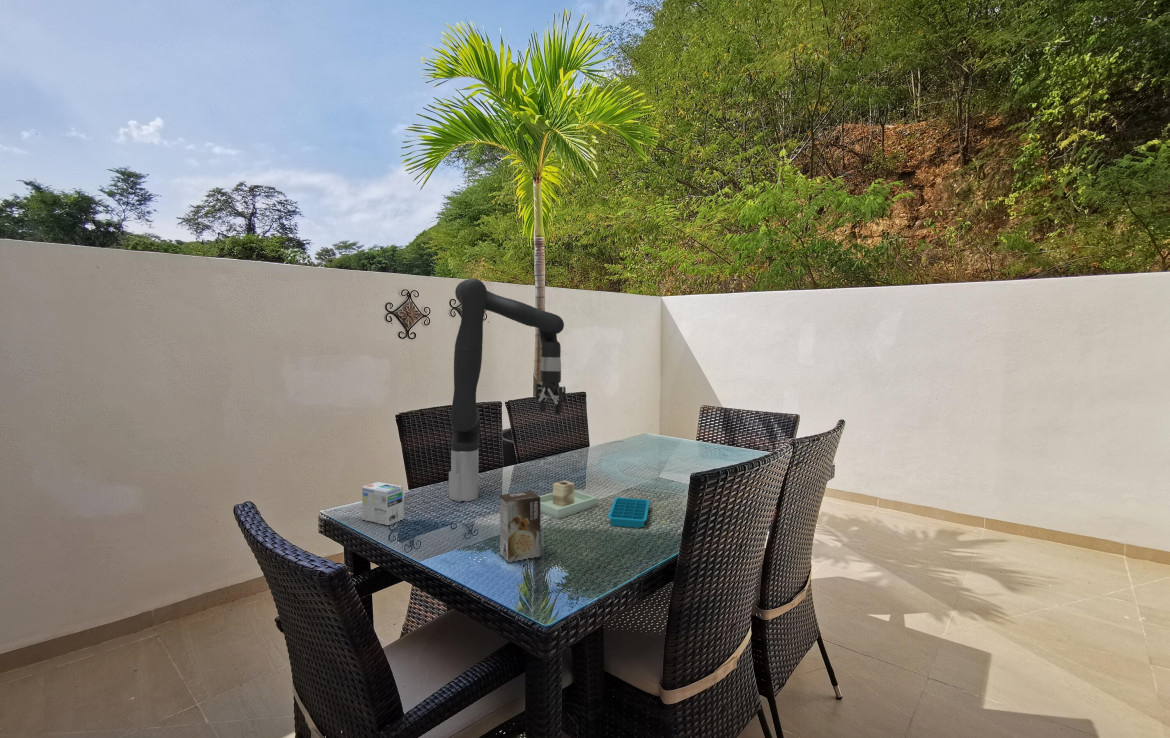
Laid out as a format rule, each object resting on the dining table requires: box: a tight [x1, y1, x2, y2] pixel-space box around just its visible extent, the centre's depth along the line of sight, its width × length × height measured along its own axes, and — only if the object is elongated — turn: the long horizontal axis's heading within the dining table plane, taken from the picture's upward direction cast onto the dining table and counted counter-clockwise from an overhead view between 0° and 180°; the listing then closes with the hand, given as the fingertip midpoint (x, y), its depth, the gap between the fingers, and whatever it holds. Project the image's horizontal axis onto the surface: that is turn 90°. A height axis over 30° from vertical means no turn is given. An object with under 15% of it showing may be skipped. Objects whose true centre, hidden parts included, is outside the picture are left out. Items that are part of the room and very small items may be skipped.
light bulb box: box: [361, 481, 405, 526], centre depth 160 cm, size 11×7×11 cm, turn 65°
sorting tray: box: [538, 489, 599, 520], centre depth 176 cm, size 18×14×3 cm
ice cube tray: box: [607, 497, 650, 529], centre depth 168 cm, size 12×20×3 cm, turn 170°
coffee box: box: [499, 490, 542, 562], centre depth 137 cm, size 9×6×16 cm
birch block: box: [552, 480, 575, 507], centre depth 175 cm, size 5×5×7 cm
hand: (550, 413), depth 195 cm, fingers open, 8 cm apart
